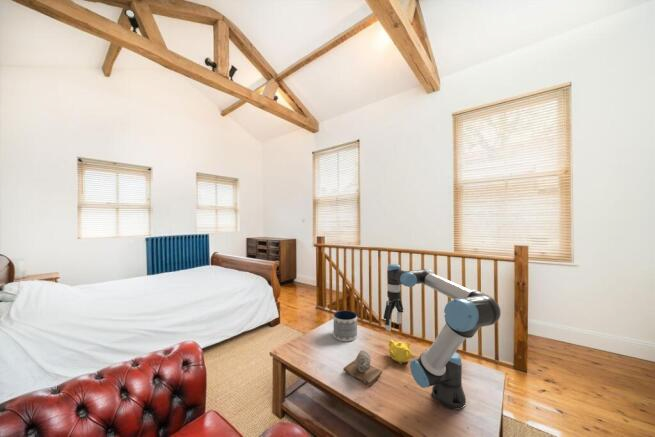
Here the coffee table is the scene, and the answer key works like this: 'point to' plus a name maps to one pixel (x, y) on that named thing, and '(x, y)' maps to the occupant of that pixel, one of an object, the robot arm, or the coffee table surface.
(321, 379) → the coffee table surface
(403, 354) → the teapot
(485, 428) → the coffee table surface
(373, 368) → the stand
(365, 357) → the stone
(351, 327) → the planter
